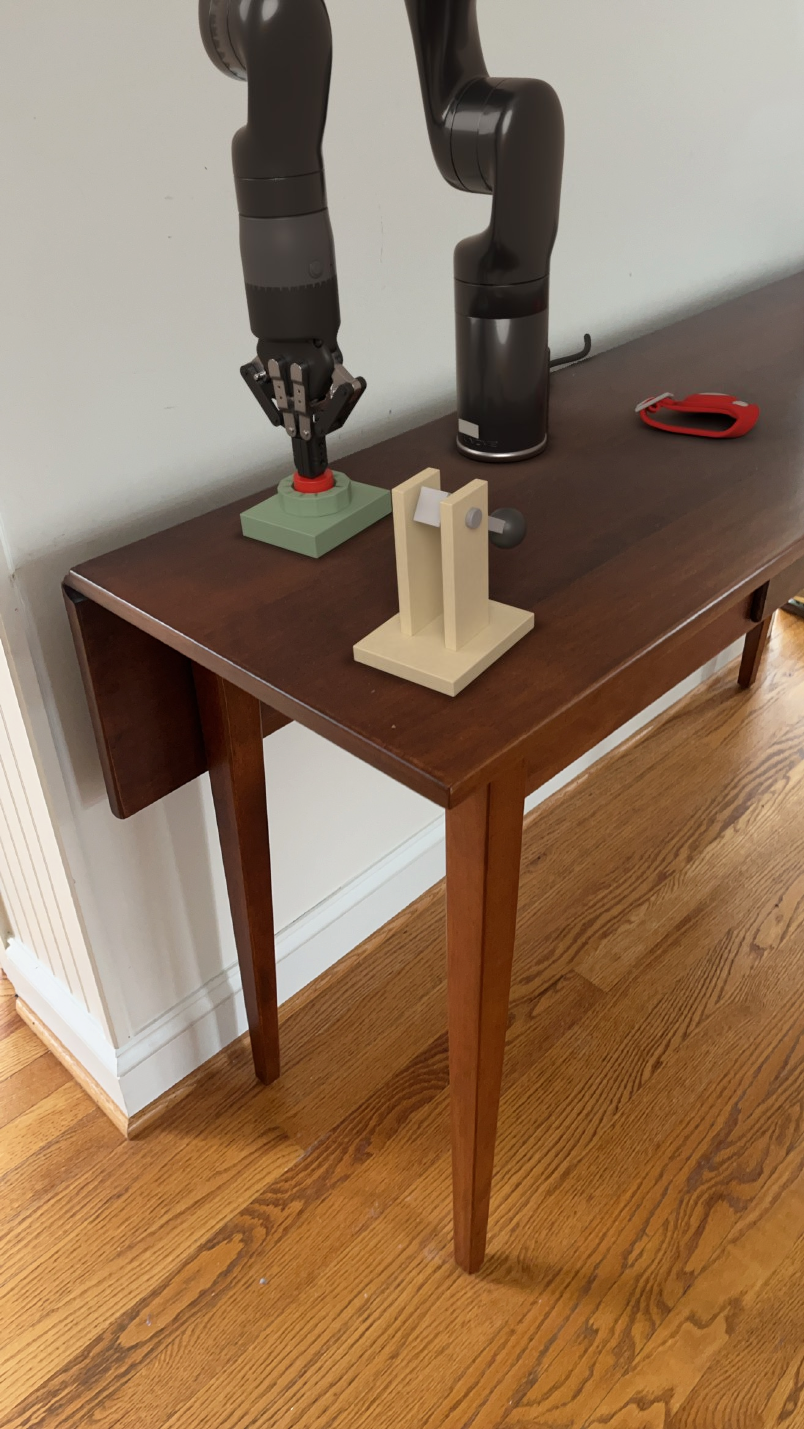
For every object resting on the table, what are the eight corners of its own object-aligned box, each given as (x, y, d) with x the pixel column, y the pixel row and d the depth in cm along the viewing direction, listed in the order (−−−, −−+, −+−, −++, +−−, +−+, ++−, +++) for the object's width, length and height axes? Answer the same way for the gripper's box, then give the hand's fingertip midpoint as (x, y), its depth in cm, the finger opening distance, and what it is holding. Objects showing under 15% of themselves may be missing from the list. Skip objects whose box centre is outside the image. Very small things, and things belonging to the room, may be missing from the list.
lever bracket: (438, 597, 83) (432, 446, 76) (534, 627, 78) (538, 469, 71) (353, 660, 76) (337, 501, 69) (453, 697, 72) (448, 531, 64)
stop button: (312, 481, 96) (310, 463, 95) (342, 489, 94) (340, 471, 93) (287, 495, 93) (284, 477, 92) (317, 503, 92) (315, 485, 90)
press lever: (492, 546, 82) (503, 506, 81) (527, 555, 80) (538, 515, 79) (405, 524, 71) (417, 478, 70) (443, 534, 69) (455, 488, 69)
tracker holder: (712, 393, 114) (782, 395, 106) (707, 434, 115) (775, 439, 107) (627, 389, 109) (694, 390, 100) (623, 432, 110) (688, 437, 101)
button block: (319, 492, 101) (315, 453, 99) (392, 511, 97) (389, 472, 94) (242, 535, 94) (236, 495, 92) (317, 559, 90) (312, 517, 87)
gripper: (383, 269, 81) (395, 475, 91) (261, 254, 88) (285, 448, 98) (322, 291, 77) (342, 505, 87) (198, 273, 83) (230, 475, 93)
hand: (312, 474), depth 92 cm, fingers closed
